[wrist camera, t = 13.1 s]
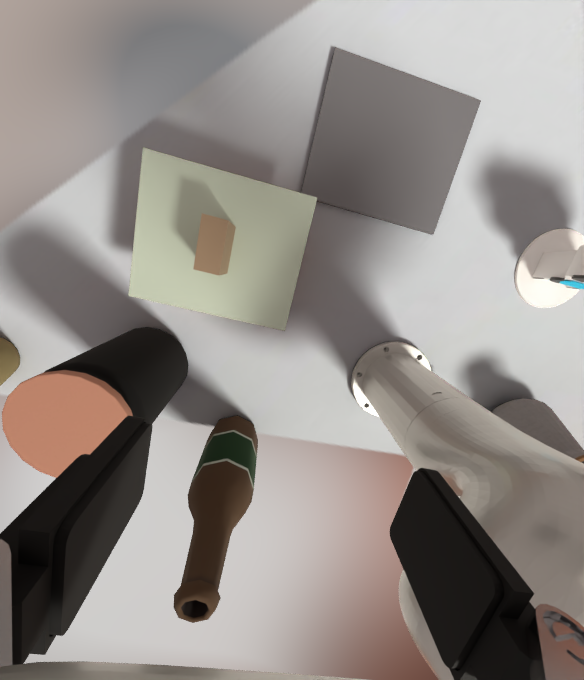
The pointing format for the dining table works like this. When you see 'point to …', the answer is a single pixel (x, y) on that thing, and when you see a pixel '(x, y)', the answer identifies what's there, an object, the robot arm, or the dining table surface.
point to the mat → (387, 143)
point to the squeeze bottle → (8, 360)
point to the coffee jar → (92, 397)
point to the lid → (217, 241)
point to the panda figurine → (551, 268)
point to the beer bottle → (216, 512)
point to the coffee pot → (540, 425)
